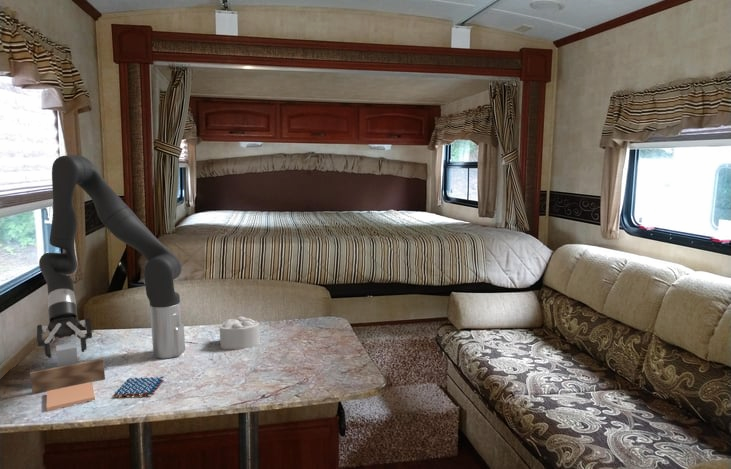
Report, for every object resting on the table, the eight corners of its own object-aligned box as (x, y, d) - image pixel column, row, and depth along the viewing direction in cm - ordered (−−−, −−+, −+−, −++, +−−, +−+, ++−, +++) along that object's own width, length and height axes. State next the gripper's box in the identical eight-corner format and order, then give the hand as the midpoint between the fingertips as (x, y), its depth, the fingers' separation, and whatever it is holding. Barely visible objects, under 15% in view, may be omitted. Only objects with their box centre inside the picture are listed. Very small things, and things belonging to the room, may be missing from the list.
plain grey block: (78, 373, 153) (75, 342, 151) (79, 380, 148) (76, 347, 147) (59, 377, 150) (56, 345, 149) (59, 384, 146) (56, 351, 144)
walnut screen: (104, 377, 150) (103, 358, 149) (105, 379, 149) (103, 359, 148) (32, 392, 141) (30, 372, 140) (32, 394, 140) (30, 373, 139)
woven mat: (127, 383, 147) (127, 376, 147) (164, 382, 148) (164, 375, 148) (112, 400, 137) (111, 393, 137) (152, 398, 138) (151, 392, 137)
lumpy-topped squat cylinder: (225, 338, 182) (224, 315, 180) (261, 337, 182) (260, 314, 181) (218, 349, 171) (217, 325, 170) (257, 348, 172) (256, 324, 171)
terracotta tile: (92, 384, 145) (91, 381, 145) (95, 400, 136) (94, 396, 136) (47, 394, 139) (46, 391, 139) (46, 411, 130) (46, 407, 130)
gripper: (34, 304, 151) (36, 353, 143) (88, 297, 158) (93, 343, 150) (36, 316, 156) (39, 364, 148) (88, 309, 164) (93, 354, 156)
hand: (66, 353), depth 149 cm, fingers open, 8 cm apart
